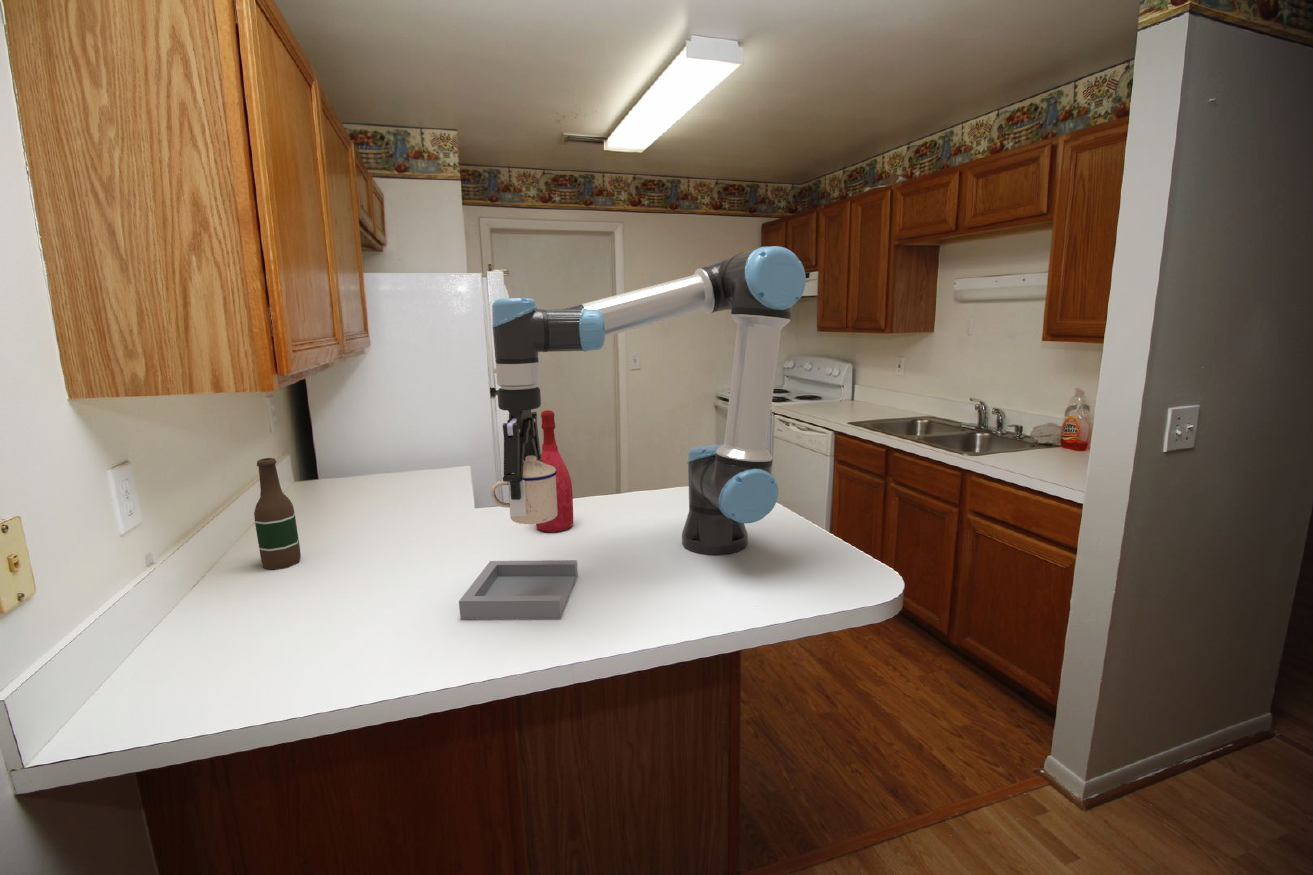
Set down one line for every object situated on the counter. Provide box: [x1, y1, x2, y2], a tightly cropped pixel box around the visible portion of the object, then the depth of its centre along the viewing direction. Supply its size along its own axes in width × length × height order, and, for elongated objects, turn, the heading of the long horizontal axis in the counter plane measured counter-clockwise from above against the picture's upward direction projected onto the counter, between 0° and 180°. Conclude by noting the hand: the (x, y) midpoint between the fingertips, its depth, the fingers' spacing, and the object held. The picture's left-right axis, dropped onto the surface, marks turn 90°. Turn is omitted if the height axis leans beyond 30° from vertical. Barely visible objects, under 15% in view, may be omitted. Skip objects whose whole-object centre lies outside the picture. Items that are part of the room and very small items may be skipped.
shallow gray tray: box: [458, 559, 579, 620], centre depth 117 cm, size 18×18×4 cm
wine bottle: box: [535, 409, 574, 533], centre depth 153 cm, size 10×10×30 cm
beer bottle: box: [253, 457, 302, 571], centre depth 134 cm, size 8×8×24 cm
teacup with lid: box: [490, 455, 557, 525], centre depth 113 cm, size 12×9×12 cm
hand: (526, 507), depth 114 cm, fingers closed on teacup with lid, 9 cm apart
